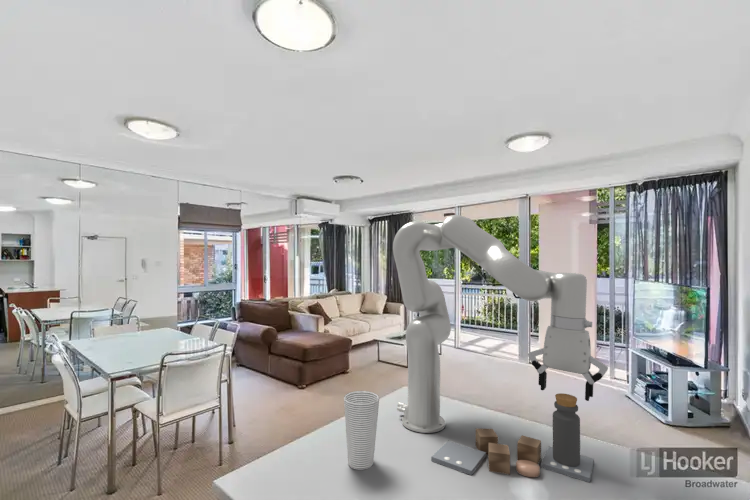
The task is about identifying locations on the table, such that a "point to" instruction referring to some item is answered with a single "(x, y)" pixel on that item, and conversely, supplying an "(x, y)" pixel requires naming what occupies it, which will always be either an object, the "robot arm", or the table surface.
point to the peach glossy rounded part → (527, 468)
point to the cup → (361, 427)
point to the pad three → (579, 472)
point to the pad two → (459, 457)
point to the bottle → (566, 430)
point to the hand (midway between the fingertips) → (564, 393)
